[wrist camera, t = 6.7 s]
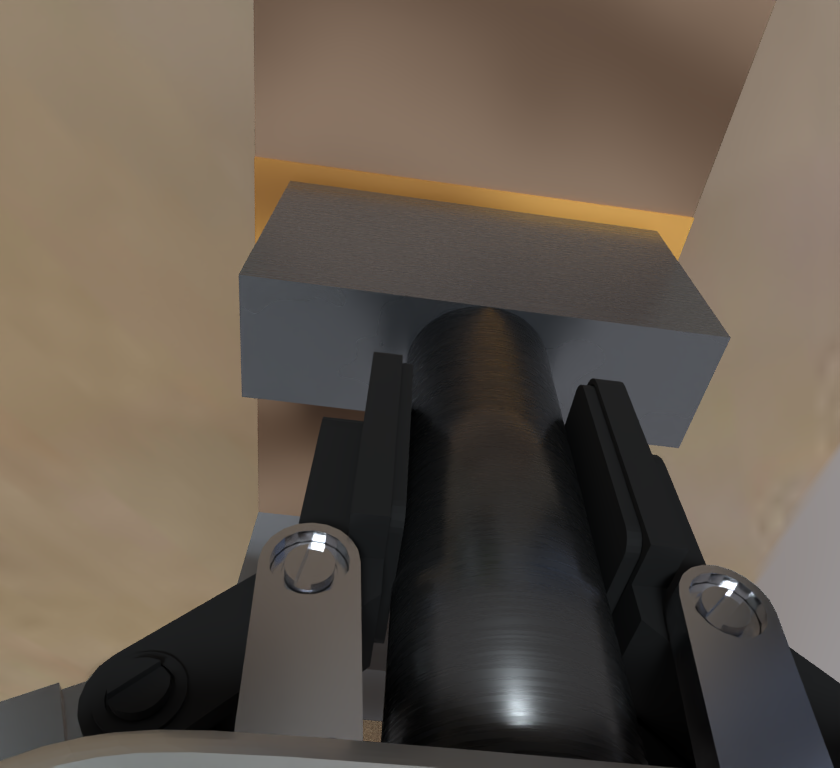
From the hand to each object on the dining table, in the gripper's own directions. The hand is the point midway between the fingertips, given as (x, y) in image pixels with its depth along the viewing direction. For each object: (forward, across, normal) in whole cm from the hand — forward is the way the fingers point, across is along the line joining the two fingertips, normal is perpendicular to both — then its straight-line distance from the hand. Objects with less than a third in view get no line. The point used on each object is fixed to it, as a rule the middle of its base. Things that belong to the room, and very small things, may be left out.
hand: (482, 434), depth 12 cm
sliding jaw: (+8, 0, 0) cm, 8 cm away
